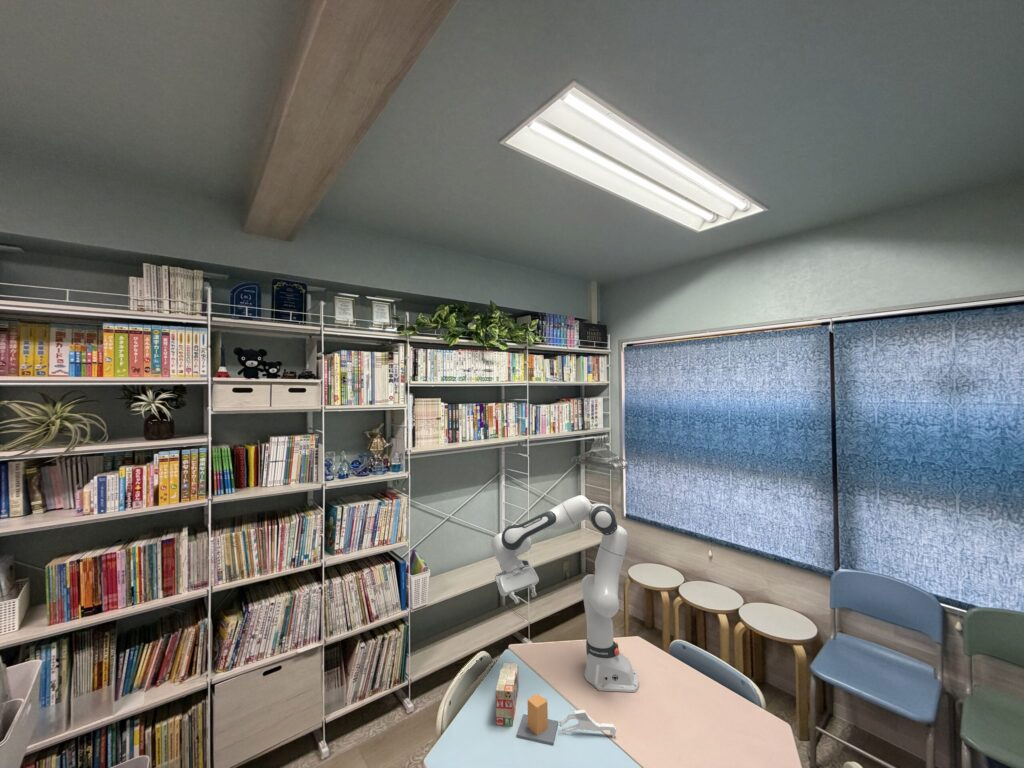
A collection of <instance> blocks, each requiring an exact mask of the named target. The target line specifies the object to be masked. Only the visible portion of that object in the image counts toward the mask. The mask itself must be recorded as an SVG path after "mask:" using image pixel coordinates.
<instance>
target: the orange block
mask: <svg viewBox="0 0 1024 768" xmlns="http://www.w3.org/2000/svg"><path fill="white" fill-rule="evenodd" d="M548 713H549V712H548V700H547V699H545V698H544V697H543V696H542V695H540V694H539V693H537V694H535V695H534V696H533V695H532V696H531V697H530V698H528V699H527V715H528V728H530V729H531V730H532V731H533V732H534V733H535V734H536V735H539V734H540V733H542V732H543V731H545V730H546V729H548V719H549V717H548V715H549V714H548Z"/></svg>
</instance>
